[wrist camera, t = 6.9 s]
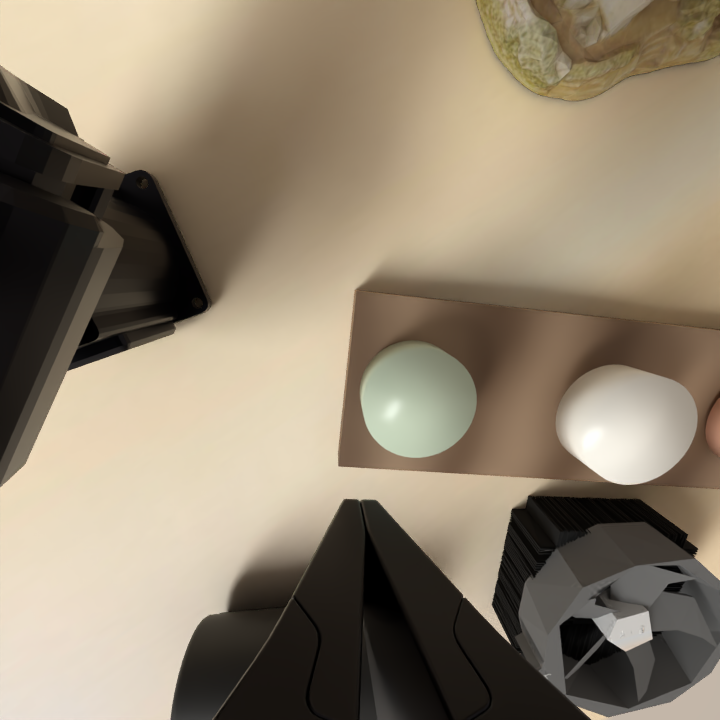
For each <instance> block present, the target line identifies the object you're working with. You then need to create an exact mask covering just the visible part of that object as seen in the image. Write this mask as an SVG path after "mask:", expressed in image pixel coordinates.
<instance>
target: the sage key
mask: <svg viewBox="0 0 720 720" xmlns="http://www.w3.org/2000/svg"><path fill="white" fill-rule="evenodd" d="M360 401H361V406H362V411H363V415H364V420H365V423H366V426H367V428H368V430H369V432H370V434H371V435H372V437H373V438H374V439H375V440H376V441H377V442H378V443H379V444H380V445H381V446H382V447H384V448H385V449H386V450H388V451H390V452H392V453H394V454H397V455H400V456H404V457H410V458H421V457H428V456H432V455H435V454H438V453H441V452H443V451H445V450H447V449H448V448H450V447H451V446H453V445H454V444H455V443H456V442H458V441H459V440H460V439H461V438H462V436H463V435H464V434H465V433H466V431H467V430H468V428H469V426H470V425H471V423H472V420H473V418H474V415H475V411H476V404H477V395H476V388H475V385H474V382H473V380H472V377H471V375H470V374H469V372H468V371H467V369H466V368H465V367H464V366H463V365H462V364H461V363H460V362H459V361H458V360H457V359H455V358H454V357H452V356H451V355H449V354H448V353H446V352H445V351H443V350H442V349H440V348H439V347H437V346H435V345H433V344H430V343H427V342H423V341H413V340H411V341H403V342H398V343H395V344H393V345H390V346H388V347H387V348H385V349H383V350H382V351H380V352H379V353H378V354H377V355H376V356H375V357H374V358H373V359H372V360H371V361H370V362H369V364H368V366H367V367H366V369H365V371H364V373H363V376H362V379H361V383H360Z"/></svg>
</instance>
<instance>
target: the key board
mask: <svg viewBox="0 0 720 720" xmlns="http://www.w3.org/2000/svg"><path fill="white" fill-rule="evenodd" d="M411 340H413V341H423V342H427V343H430V344H433V345H435V346H437V347H439V348H440V349H442V350H443V351H445V352H446V353H448V354H449V355H451V356H452V357H454V358H455V359H457V360H458V361H459V362H460V363H461V364H462V365H463V366H464V367H465V368H466V369H467V371H468V372H469V374H470V375H471V377H472V380H473V382H474V385H475V388H476V395H477V404H476V411H475V415H474V418H473V420H472V423H471V425H470V426H469V428H468V430H467V431H466V433H465V434H464V435H463V436H462V438H461V439H460V440H459V441H458V442H456V443H455V444H454V445H453V446H451V447H450V448H448V449H447V450H445V451H443V452H441V453H438V454H435V455H432V456H428V457H421V458H410V457H404V456H400V455H397V454H394V453H392V452H390V451H388V450H386V449H385V448H384V447H382V446H381V445H380V444H379V443H378V442H377V441H376V440H375V439H374V438H373V437H372V435H371V434H370V432H369V430H368V428H367V426H366V423H365V420H364V415H363V411H362V406H361V401H360V383H361V379H362V376H363V373H364V371H365V369H366V367H367V366H368V364H369V362H370V361H371V360H372V359H373V358H374V357H375V356H376V355H377V354H378V353H379V352H380V351H382V350H383V349H385V348H387V347H388V346H390V345H393V344H395V343H398V342H403V341H411ZM613 364H614V365H625V366H629V367H632V368H636V369H639V370H642V371H645V372H649V373H652V374H655V375H659V376H662V377H665V378H668V379H672V380H674V381H676V382H678V383H680V384H681V385H682V386H684V387H685V388H686V389H687V390H688V391H689V393H690V394H691V396H692V397H693V399H694V402H695V405H696V408H697V415H698V418H697V428H696V432H695V436H694V438H693V441H692V443H691V445H690V447H689V449H688V450H687V452H686V453H685V455H684V456H683V457H682V458H681V459H680V461H679V462H678V463H677V464H676V465H675V466H674V467H672V468H671V469H670V470H669V471H667V472H666V473H664V474H663V475H661V476H659V477H657V478H655V479H653V480H650V481H648V482H644V483H640V484H646V485H662V486H679V487H696V488H713V489H720V457H718V456H717V455H715V454H714V453H713V452H712V451H711V449H710V448H709V446H708V444H707V440H706V434H705V430H706V422H707V419H708V416H709V413H710V411H711V409H712V407H713V406H714V404H715V403H716V401H717V400H718V399H719V398H720V330H718V329H709V328H700V327H691V326H682V325H672V324H663V323H654V322H645V321H636V320H626V319H617V318H608V317H599V316H589V315H580V314H571V313H562V312H553V311H543V310H534V309H525V308H516V307H507V306H497V305H488V304H479V303H470V302H461V301H451V300H442V299H433V298H424V297H415V296H405V295H396V294H387V293H378V292H369V291H359V290H355V294H354V303H353V313H352V323H351V333H350V342H349V352H348V362H347V371H346V381H345V391H344V400H343V410H342V420H341V430H340V439H339V449H338V466H341V467H358V468H375V469H392V470H409V471H426V472H443V473H460V474H477V475H493V476H510V477H527V478H544V479H561V480H578V481H595V482H610V481H608V480H606V479H604V478H603V477H601V476H600V475H598V474H597V473H596V472H594V471H593V470H592V469H590V468H589V467H588V466H586V465H585V464H584V463H582V462H581V461H580V460H578V459H577V458H576V457H574V456H573V455H572V454H570V453H569V452H568V451H567V450H566V449H565V448H564V447H563V446H562V444H561V442H560V441H559V438H558V436H557V431H556V414H557V409H558V406H559V404H560V401H561V399H562V397H563V396H564V394H565V392H566V391H567V390H568V388H569V387H570V386H571V385H572V384H573V383H574V382H575V381H576V380H577V379H578V378H580V377H581V376H582V375H584V374H585V373H587V372H589V371H591V370H593V369H595V368H598V367H601V366H605V365H613ZM612 483H613V482H612Z"/></svg>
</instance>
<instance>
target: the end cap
mask: <svg viewBox="0 0 720 720" xmlns="http://www.w3.org/2000/svg"><path fill="white" fill-rule="evenodd" d="M285 608H286V607H279V608H268V609H257V610H246V611H235V612H224V613H220V614H214V615H209V616H207V617H206V618H204V619H203V620H202V621H201V623H200V624H199V625H198V626H197V628H196V630H195V632H194V633H193V635H192V638H191V640H190V642H189V644H188V647H187V650H186V652H185V655H184V658H183V661H182V665H181V668H180V672H179V675H178V680H177V684H176V688H175V693H174V699H173V704H172V712H171V720H212V719H213V718H214V716H215V715H216V714H217V712H218V711H219V709H220V708H221V706H222V705H223V704H224V702H225V701H226V699H227V698H228V696H229V695H230V694H231V692H232V691H233V689H234V688H235V687H236V685H237V684H238V682H239V681H240V679H241V678H242V677H243V675H244V674H245V672H246V671H247V669H248V668H249V667H250V665H251V664H252V662H253V661H254V659H255V658H256V656H257V655H258V653H259V651H260V650H261V648H262V647H263V645H264V644H265V642H266V641H267V639H268V638H269V636H270V634H271V633H272V631H273V629H274V627H275V626H276V624H277V622H278V620H279V619H280V617H281V615H282V613H283V612H284V610H285ZM360 720H377V714H376V707H375V701H374V694H373V688H372V681H371V674H370V668H369V661H368V655H367V648H366V642H365V635H364V628H363V638H362V666H361V694H360Z"/></svg>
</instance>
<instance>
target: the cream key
mask: <svg viewBox="0 0 720 720" xmlns="http://www.w3.org/2000/svg"><path fill="white" fill-rule="evenodd" d="M697 418H698V415H697V408H696V405H695V402H694V399H693V397H692V396H691V394H690V393H689V391H688V390H687V389H686V388H685V387H684V386H682V385H681V384H680V383H678V382H676V381H674V380H672V379H668V378H665V377H662V376H659V375H655V374H652V373H649V372H645V371H642V370H639V369H636V368H632V367H629V366H625V365H614V364H613V365H605V366H601V367H598V368H595V369H593V370H591V371H589V372H587V373H585V374H584V375H582V376H581V377H580V378H578V379H577V380H576V381H575V382H574V383H573V384H572V385H571V386H570V387H569V388H568V390H567V391H566V392H565V394H564V396H563V397H562V399H561V401H560V404H559V406H558V409H557V414H556V431H557V436H558V438H559V441H560V442H561V444H562V446H563V447H564V448H565V449H566V450H567V451H568V452H569V453H570V454H572V455H573V456H574V457H576V458H577V459H578V460H580V461H581V462H582V463H584V464H585V465H586V466H588V467H589V468H590V469H592V470H593V471H594V472H596V473H597V474H598V475H600V476H601V477H603V478H604V479H606V480H608V481H610V482H613V483H617V484H623V485H633V484H640V483H644V482H648V481H650V480H653V479H655V478H657V477H659V476H661V475H663V474H664V473H666V472H667V471H669V470H670V469H671V468H672V467H674V466H675V465H676V464H677V463H678V462H679V461H680V459H681V458H682V457H683V456H684V455H685V453H686V452H687V450H688V449H689V447H690V445H691V443H692V441H693V438H694V436H695V432H696V428H697Z"/></svg>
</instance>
